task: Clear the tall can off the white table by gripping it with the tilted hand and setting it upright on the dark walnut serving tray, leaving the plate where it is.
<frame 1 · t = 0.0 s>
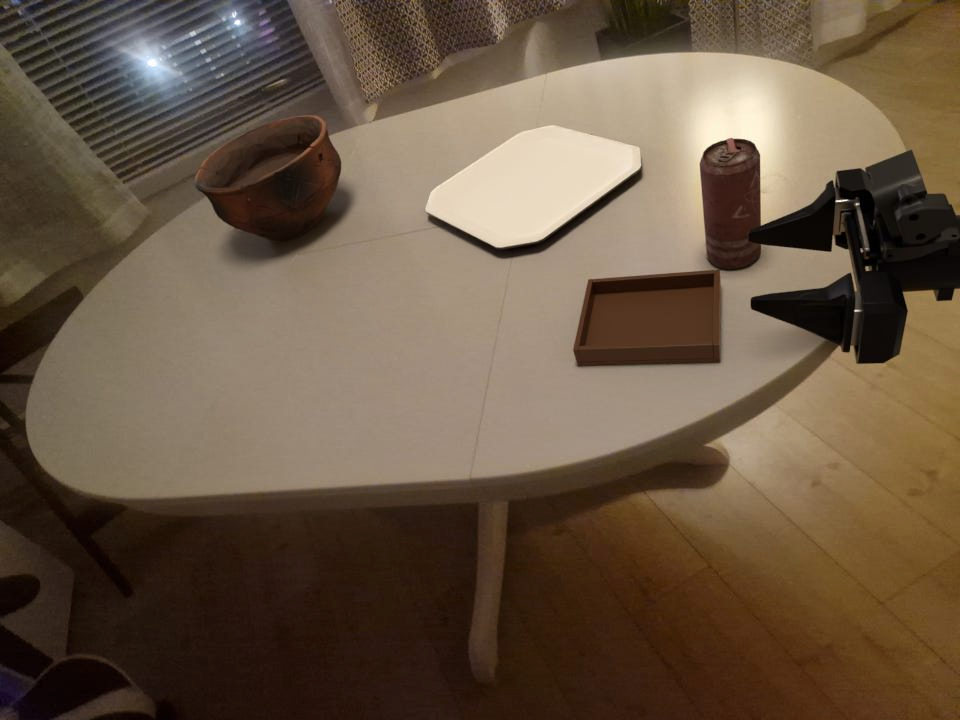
hand: (749, 268, 56), 14 cm above the table, tool horizontal, fingers open, 9 cm apart
bowl: (300, 222, 121), on the table
can: (733, 255, 79), on the table
tray: (650, 325, 74), on the table
plate: (532, 191, 104), on the table
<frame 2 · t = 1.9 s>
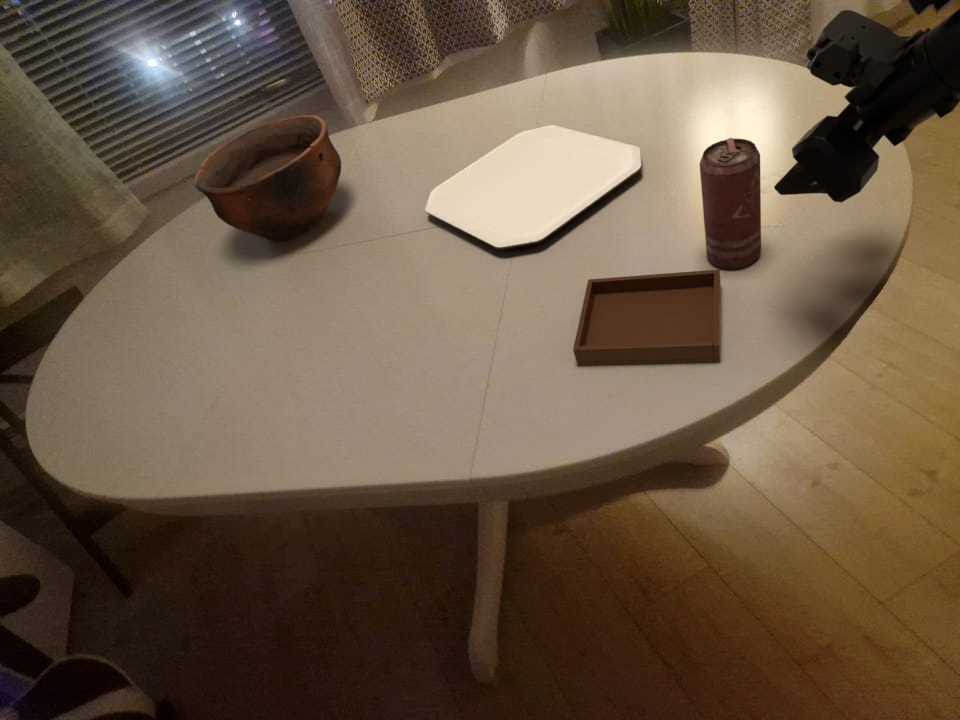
hand: (800, 164, 64), 14 cm above the table, tool tilted 45°, fingers open, 9 cm apart
nothing on the table moved.
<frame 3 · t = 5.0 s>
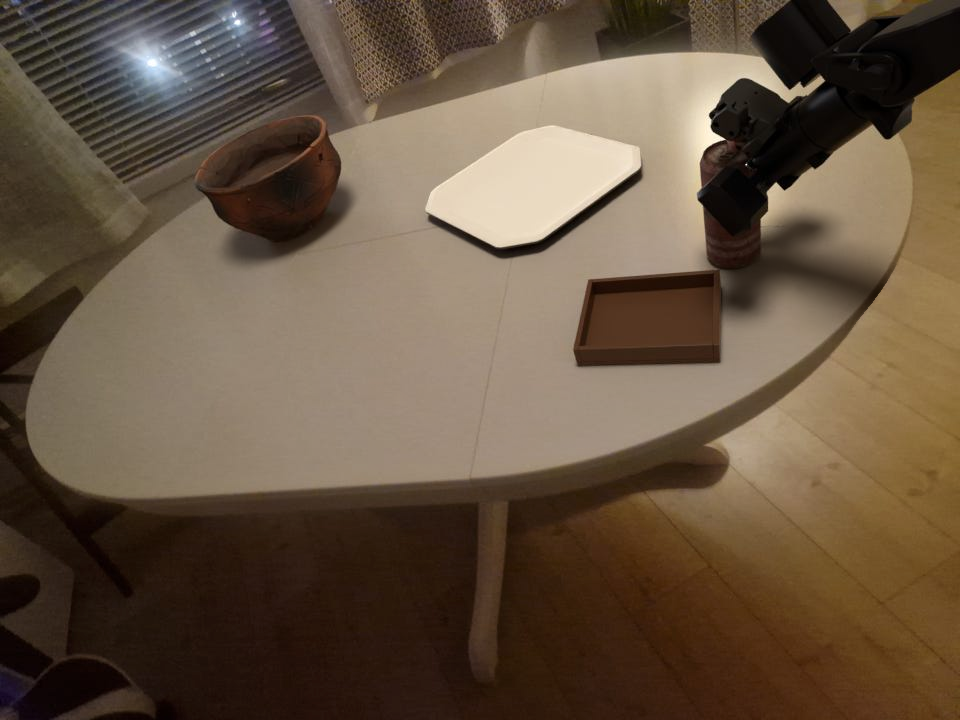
hand: (720, 202, 75), 7 cm above the table, tool tilted 45°, fingers closed on can, 5 cm apart
can: (733, 255, 79), on the table, touching gripper
everything else where it was.
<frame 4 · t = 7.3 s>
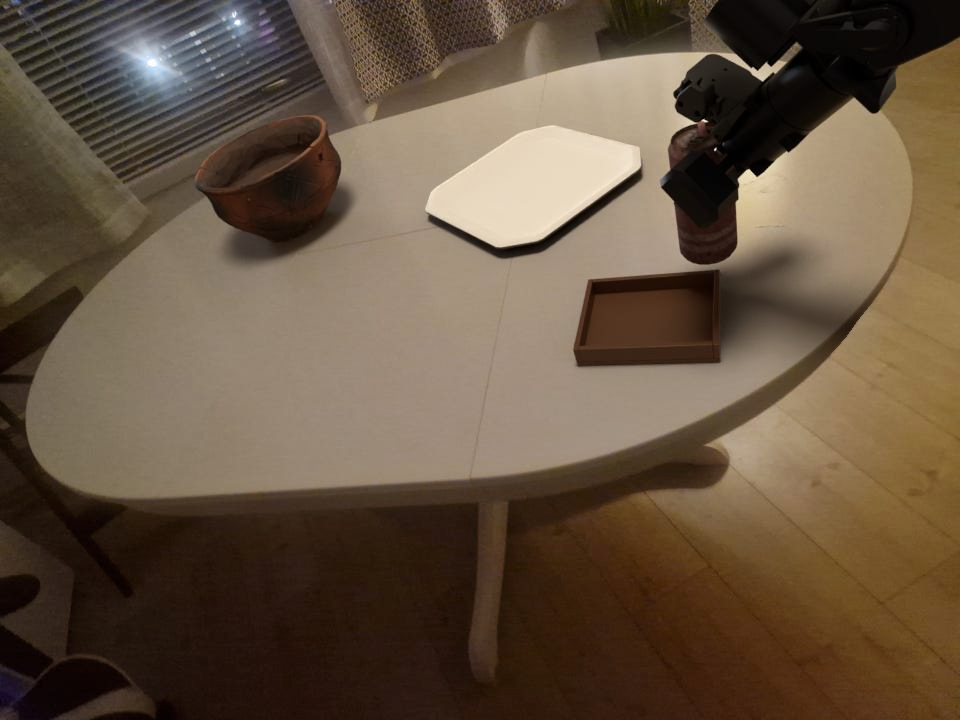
hand: (692, 192, 69), 12 cm above the table, tool tilted 45°, fingers closed on can, 5 cm apart
can: (708, 250, 73), point 5 cm above the table, touching gripper
everything else where it was.
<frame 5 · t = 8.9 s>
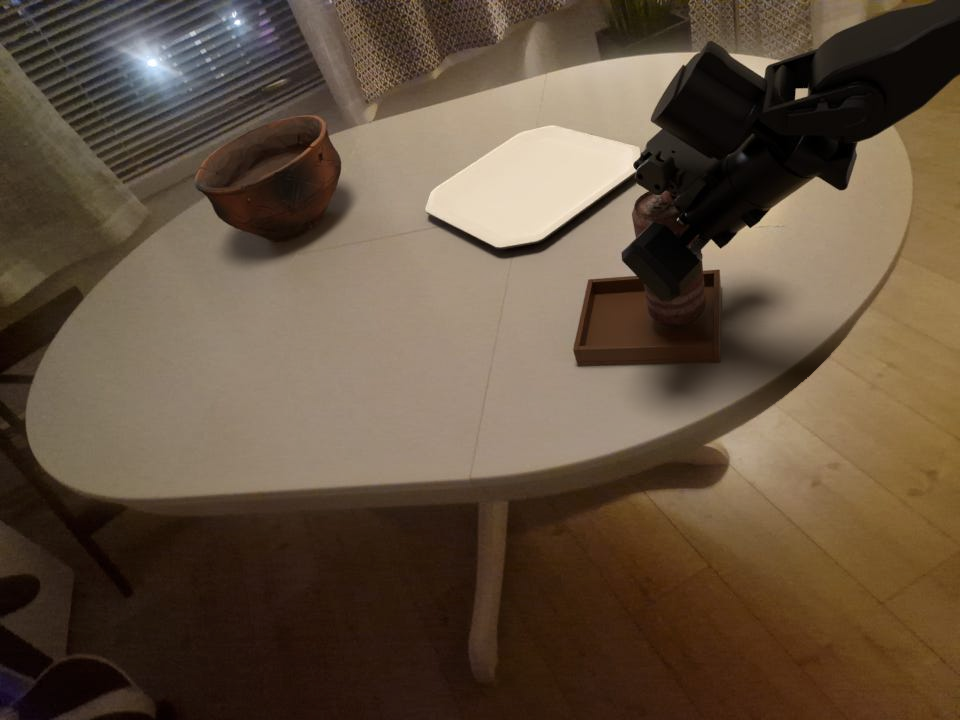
hand: (658, 253, 68), 10 cm above the table, tool tilted 45°, fingers closed on can, 5 cm apart
can: (677, 310, 72), point 2 cm above the table, touching gripper
everything else where it was.
when the fingers open (8 cm above the table, at t = 10.0 s): can stays where it is, resting on tray.
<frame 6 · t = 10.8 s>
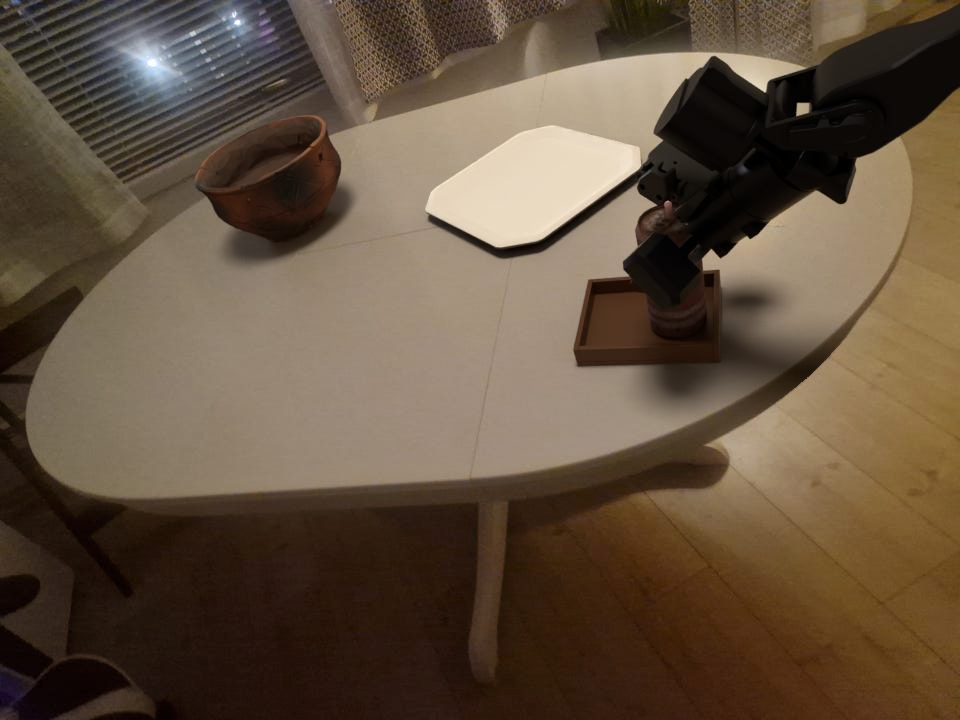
hand: (659, 261, 69), 9 cm above the table, tool tilted 45°, fingers open, 9 cm apart
can: (678, 322, 73), resting on tray
everything else where it was.
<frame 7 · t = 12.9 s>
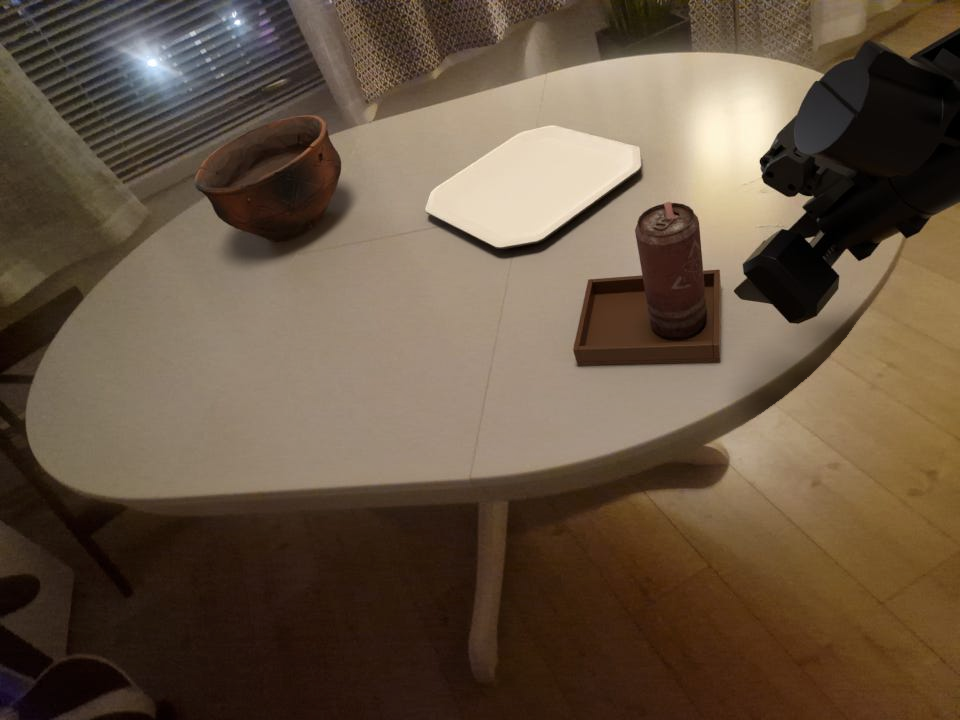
hand: (765, 263, 59), 12 cm above the table, tool tilted 45°, fingers open, 9 cm apart
nothing on the table moved.
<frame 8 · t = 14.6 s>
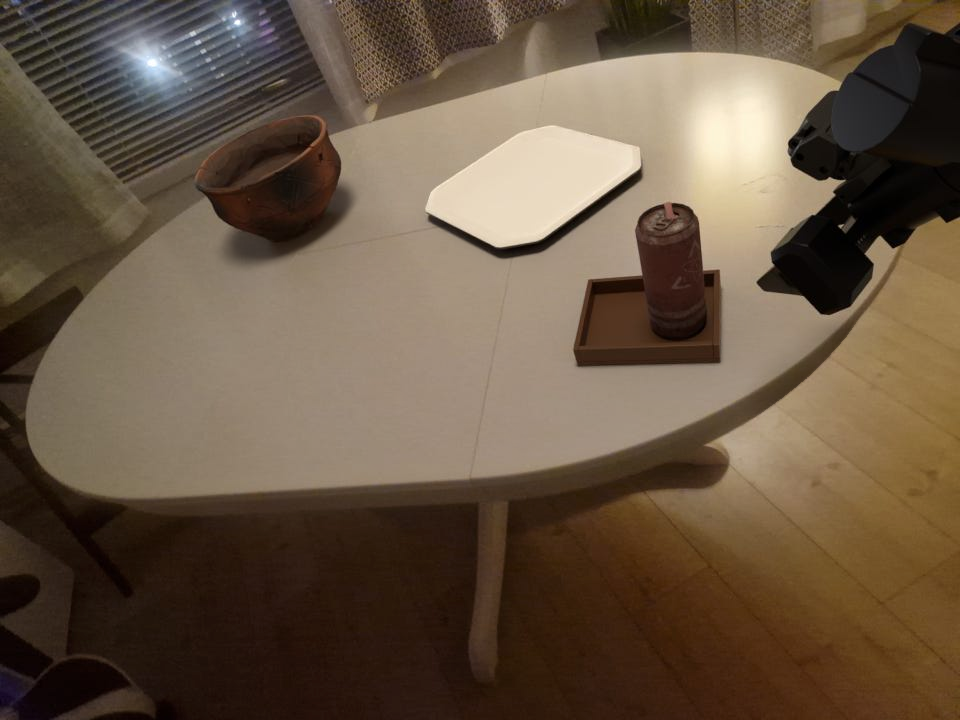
hand: (788, 254, 56), 14 cm above the table, tool tilted 45°, fingers open, 9 cm apart
nothing on the table moved.
at the end: can inside the target area in the tray (3.2 cm from its centre), point 0.4 cm above the tray's base; can tilted 0°; plate moved 0.2 cm from its start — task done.
